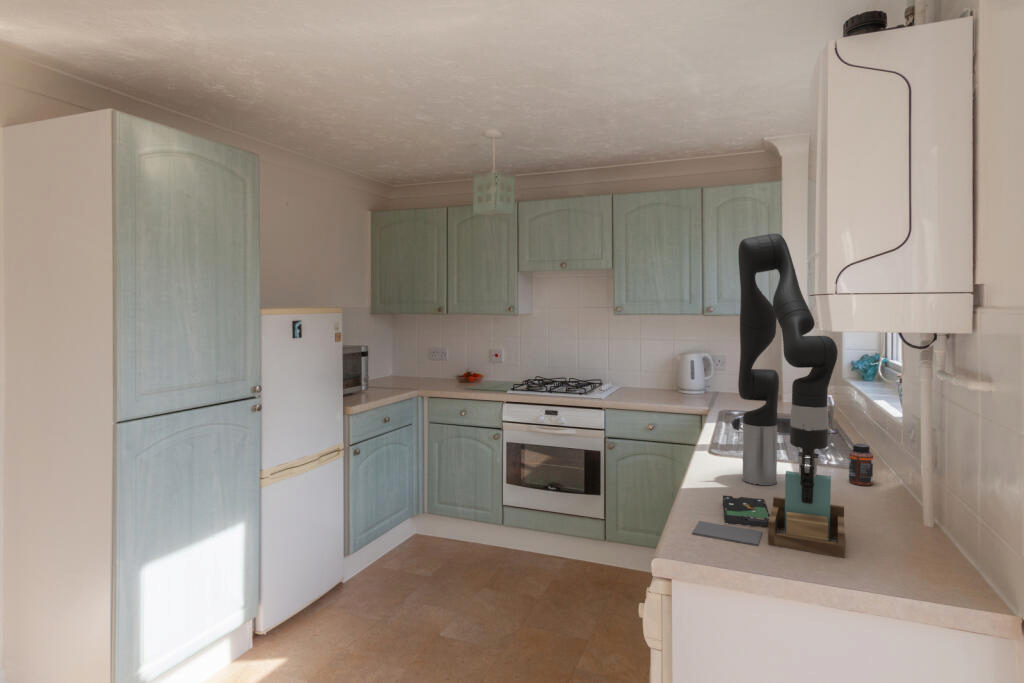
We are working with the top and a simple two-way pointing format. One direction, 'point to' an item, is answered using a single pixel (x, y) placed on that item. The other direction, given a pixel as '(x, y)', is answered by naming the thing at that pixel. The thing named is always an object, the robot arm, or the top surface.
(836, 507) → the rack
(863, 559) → the top surface
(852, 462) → the supplement bottle
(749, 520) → the disk drive
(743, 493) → the top surface
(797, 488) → the teal board
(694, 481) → the top surface
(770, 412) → the robot arm
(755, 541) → the grey mat
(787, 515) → the oak block upper
